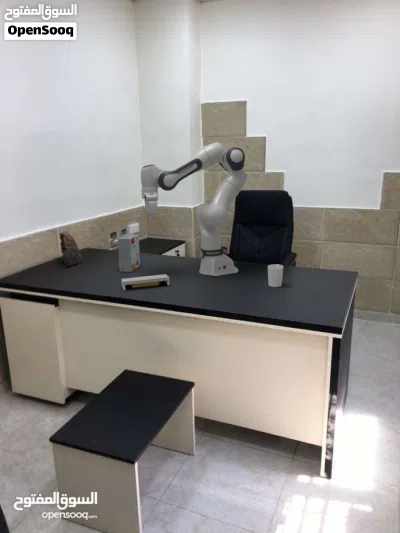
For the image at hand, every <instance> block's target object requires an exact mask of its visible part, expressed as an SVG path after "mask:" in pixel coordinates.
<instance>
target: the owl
mask: <svg viewBox="0 0 400 533" xmlns="http://www.w3.org/2000/svg"><path fill="white" fill-rule="evenodd" d="M59 239H60V249H61V251H60V252H61V253H62V258H63V265H65V266H73V265H76V264H81V263H83V262H84V259H83V257H82V256H83V255H82V253H81V251H80V249H79V246H78V244H77V242H76V240H75V239H74V236H72V234H70V232H69V231H68V230H65V231H60V233H59Z"/></svg>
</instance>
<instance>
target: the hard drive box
mask: <svg viewBox="0 0 400 533" xmlns="http://www.w3.org/2000/svg"><path fill="white" fill-rule="evenodd" d="M139 237H140V236H139V234H138V233H136V234H135V233H127V234H125V235H123V236H121V237H119V238H117V247H118V250H117V251H118V263H119V272H123V273H126V272H127V273H132V272H134V271H135V270H136V269H138V268H139V266H141V258H140V257H141V256H140V240H139V239H140V238H139Z"/></svg>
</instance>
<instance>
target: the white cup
mask: <svg viewBox="0 0 400 533" xmlns="http://www.w3.org/2000/svg"><path fill="white" fill-rule="evenodd" d="M283 277H284V265H282V264H275V263H274V264H269V265H267V280H268V286H269V287H272V288H278V287H282V284H283Z"/></svg>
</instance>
